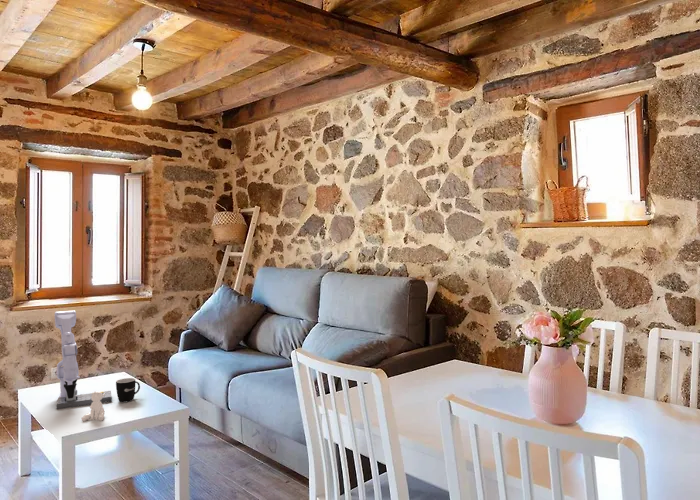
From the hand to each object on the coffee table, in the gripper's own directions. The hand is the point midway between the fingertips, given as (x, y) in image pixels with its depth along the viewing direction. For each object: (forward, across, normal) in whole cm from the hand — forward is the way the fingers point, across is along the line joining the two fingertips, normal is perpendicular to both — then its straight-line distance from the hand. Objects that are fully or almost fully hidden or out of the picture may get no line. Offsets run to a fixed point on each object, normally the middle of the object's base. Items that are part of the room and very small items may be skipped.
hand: (71, 396), depth 260 cm
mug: (+4, -7, -26) cm, 27 cm away
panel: (+4, 0, -6) cm, 7 cm away
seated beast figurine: (+4, -30, -11) cm, 32 cm away
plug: (+4, 0, 0) cm, 4 cm away
